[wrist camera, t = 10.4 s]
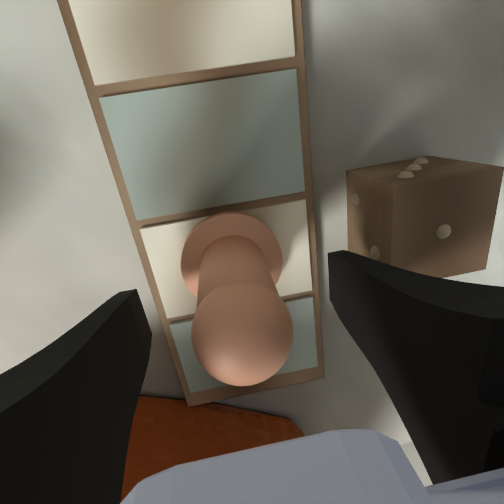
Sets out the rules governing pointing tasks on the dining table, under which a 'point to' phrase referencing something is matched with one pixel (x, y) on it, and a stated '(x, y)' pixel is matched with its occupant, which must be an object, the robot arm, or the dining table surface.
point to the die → (424, 214)
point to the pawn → (237, 298)
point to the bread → (194, 435)
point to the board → (206, 149)
